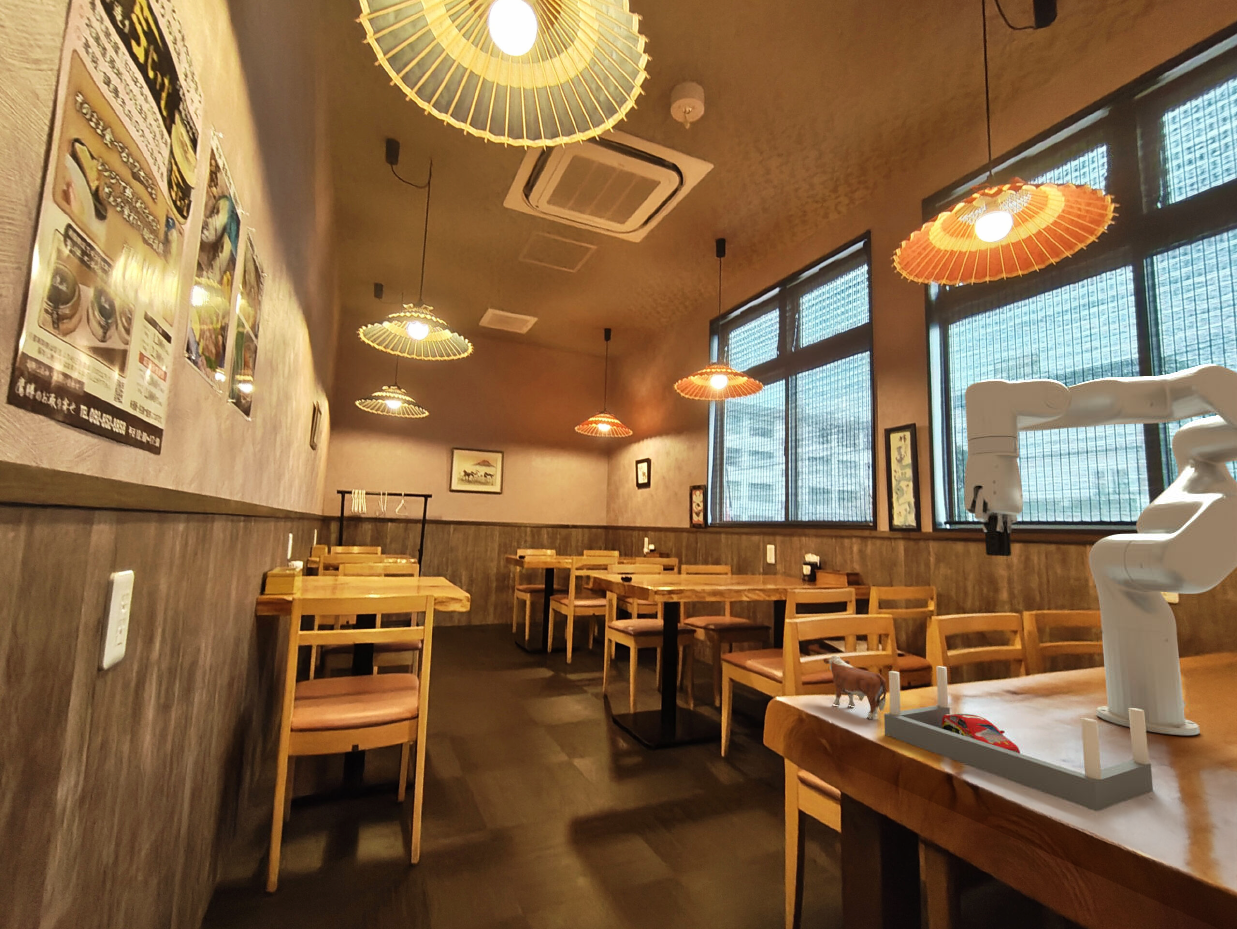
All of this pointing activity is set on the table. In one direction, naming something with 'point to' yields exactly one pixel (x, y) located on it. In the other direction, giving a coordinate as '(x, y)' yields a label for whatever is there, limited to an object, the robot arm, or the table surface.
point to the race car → (977, 730)
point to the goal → (1055, 780)
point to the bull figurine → (857, 684)
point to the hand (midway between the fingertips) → (998, 555)
